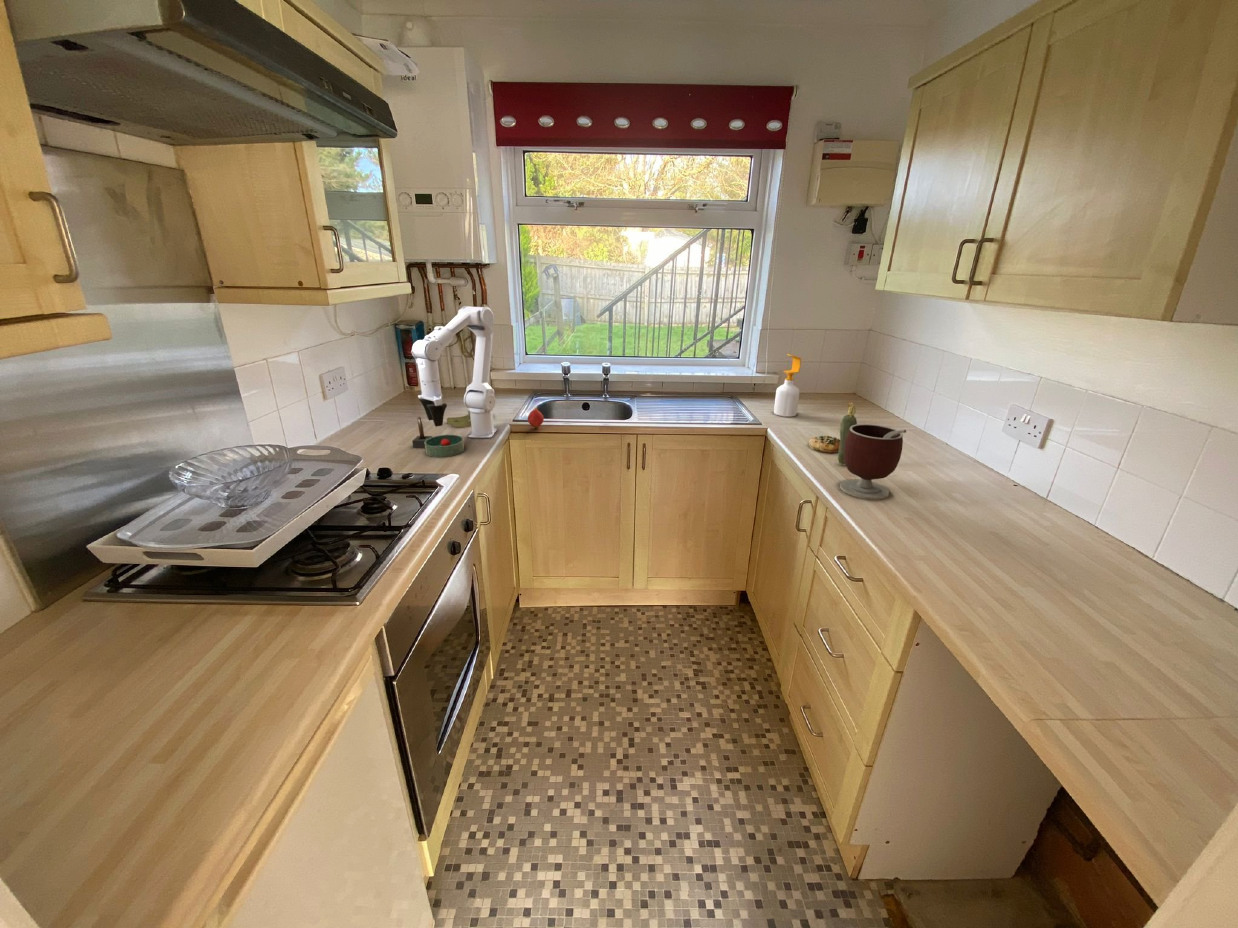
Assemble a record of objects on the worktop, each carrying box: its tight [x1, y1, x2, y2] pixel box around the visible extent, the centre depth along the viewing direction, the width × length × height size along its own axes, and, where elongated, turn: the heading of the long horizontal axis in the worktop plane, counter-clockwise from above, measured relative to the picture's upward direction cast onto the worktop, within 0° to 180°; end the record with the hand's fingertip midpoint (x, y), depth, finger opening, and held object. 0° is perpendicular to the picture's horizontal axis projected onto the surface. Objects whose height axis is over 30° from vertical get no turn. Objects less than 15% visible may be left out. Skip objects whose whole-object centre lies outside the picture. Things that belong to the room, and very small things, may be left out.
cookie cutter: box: [446, 410, 471, 428], centre depth 198 cm, size 18×12×2 cm, turn 155°
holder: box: [411, 435, 433, 449], centre depth 171 cm, size 5×5×2 cm
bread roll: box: [808, 435, 840, 454], centre depth 172 cm, size 11×11×5 cm
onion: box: [527, 407, 545, 429], centre depth 188 cm, size 6×6×8 cm
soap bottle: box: [773, 353, 802, 418], centre depth 207 cm, size 9×9×25 cm
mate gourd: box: [839, 423, 907, 501], centre depth 136 cm, size 16×14×20 cm
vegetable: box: [837, 401, 858, 466], centre depth 154 cm, size 4×4×20 cm
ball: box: [441, 439, 450, 446], centre depth 167 cm, size 3×3×3 cm
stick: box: [417, 416, 425, 439], centre depth 169 cm, size 1×1×10 cm
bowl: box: [424, 434, 465, 458], centre depth 166 cm, size 12×12×4 cm
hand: (435, 422), depth 161 cm, fingers open, 7 cm apart
